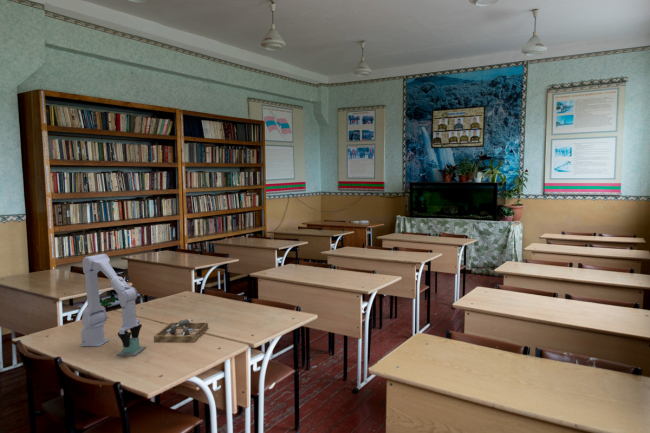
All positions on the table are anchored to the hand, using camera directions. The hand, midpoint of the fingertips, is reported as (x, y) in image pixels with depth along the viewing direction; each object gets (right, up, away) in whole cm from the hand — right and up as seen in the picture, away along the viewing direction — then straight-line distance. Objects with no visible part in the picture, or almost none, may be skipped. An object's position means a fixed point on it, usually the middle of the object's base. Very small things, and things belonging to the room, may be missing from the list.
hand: (130, 343), depth 199 cm
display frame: (+17, -2, +21) cm, 27 cm away
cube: (0, -3, 0) cm, 3 cm away
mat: (0, -4, 0) cm, 4 cm away
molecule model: (+15, -2, +24) cm, 28 cm away
